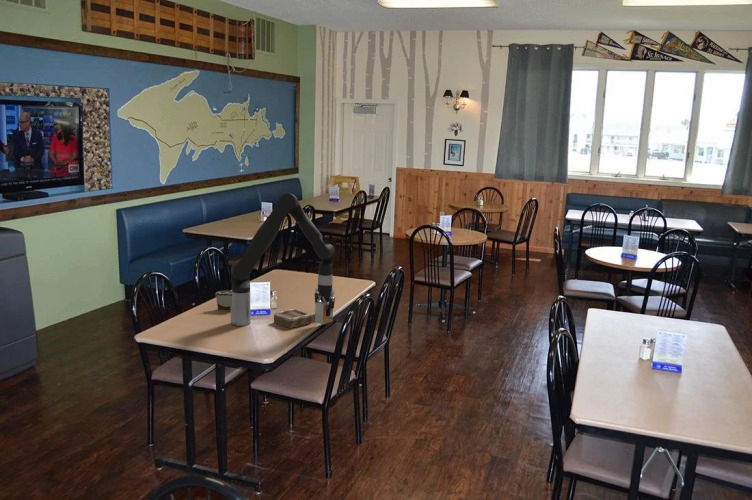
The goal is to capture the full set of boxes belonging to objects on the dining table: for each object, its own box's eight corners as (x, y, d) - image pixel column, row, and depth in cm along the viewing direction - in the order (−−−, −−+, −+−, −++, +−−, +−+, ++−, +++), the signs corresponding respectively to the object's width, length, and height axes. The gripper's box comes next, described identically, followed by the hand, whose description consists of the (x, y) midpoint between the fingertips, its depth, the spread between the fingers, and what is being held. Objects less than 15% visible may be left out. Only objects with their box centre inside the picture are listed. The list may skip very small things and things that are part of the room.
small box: (322, 324, 330) (323, 305, 328) (314, 322, 333) (315, 302, 331) (333, 321, 336) (333, 301, 334) (325, 319, 339) (325, 299, 337)
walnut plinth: (290, 328, 329) (290, 319, 328) (273, 322, 338) (273, 313, 337) (311, 323, 338) (311, 314, 337) (295, 317, 348) (295, 308, 347)
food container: (240, 308, 361) (240, 290, 359) (237, 311, 355) (236, 293, 353) (219, 306, 362) (218, 289, 360) (215, 310, 356) (215, 292, 354)
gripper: (310, 281, 333) (309, 312, 336) (328, 286, 323) (327, 319, 326) (321, 279, 338) (320, 309, 341) (339, 284, 328) (338, 316, 331)
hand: (324, 314), depth 334 cm, fingers closed on small box, 6 cm apart
